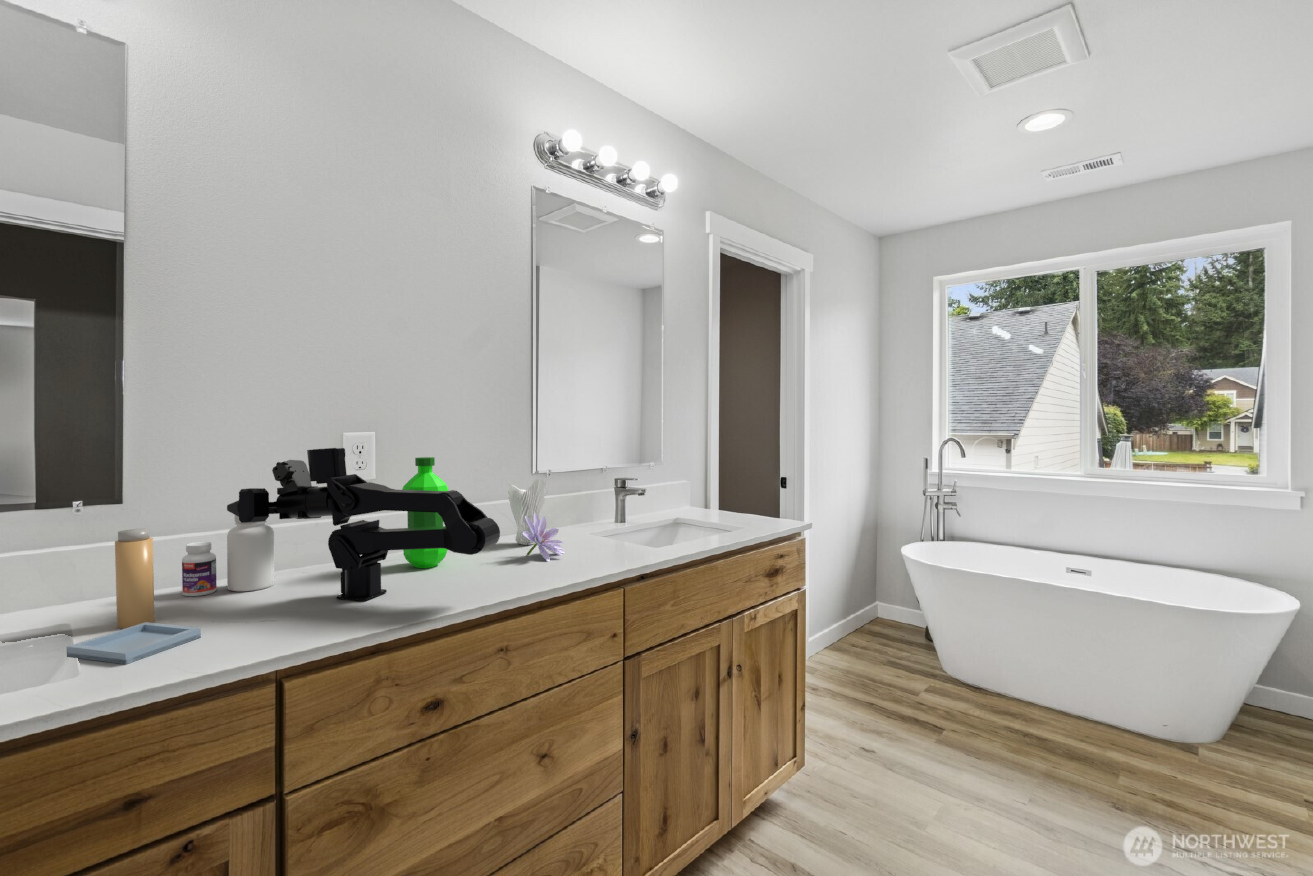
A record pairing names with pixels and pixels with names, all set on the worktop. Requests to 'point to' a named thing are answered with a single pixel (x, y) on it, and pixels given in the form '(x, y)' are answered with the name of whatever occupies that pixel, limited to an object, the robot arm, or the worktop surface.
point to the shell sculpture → (526, 506)
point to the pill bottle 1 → (198, 570)
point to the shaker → (134, 578)
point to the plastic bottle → (425, 513)
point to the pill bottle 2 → (250, 556)
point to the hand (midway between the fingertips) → (247, 507)
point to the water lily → (542, 537)
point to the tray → (133, 642)
